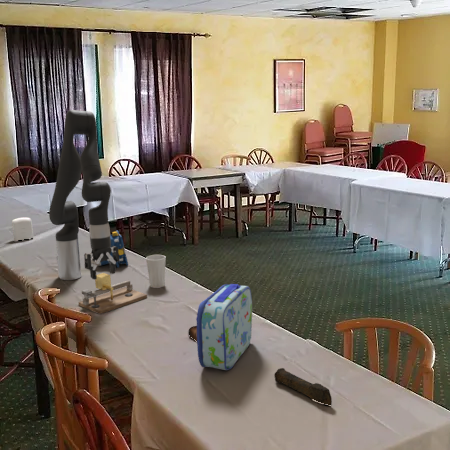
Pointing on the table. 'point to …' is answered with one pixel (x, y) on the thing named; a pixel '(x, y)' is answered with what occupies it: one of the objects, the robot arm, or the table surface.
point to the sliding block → (104, 283)
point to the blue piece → (118, 242)
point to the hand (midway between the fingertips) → (103, 276)
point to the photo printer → (22, 228)
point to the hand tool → (304, 386)
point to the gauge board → (104, 301)
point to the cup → (156, 270)
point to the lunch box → (224, 326)
